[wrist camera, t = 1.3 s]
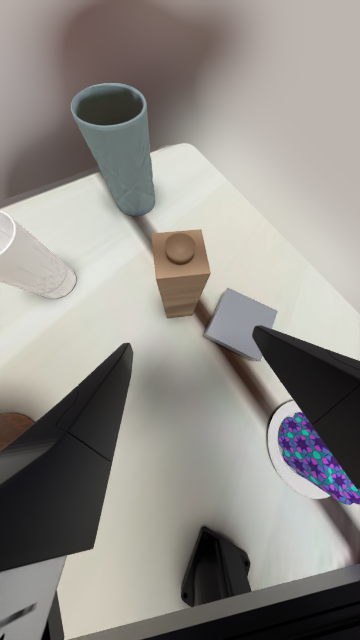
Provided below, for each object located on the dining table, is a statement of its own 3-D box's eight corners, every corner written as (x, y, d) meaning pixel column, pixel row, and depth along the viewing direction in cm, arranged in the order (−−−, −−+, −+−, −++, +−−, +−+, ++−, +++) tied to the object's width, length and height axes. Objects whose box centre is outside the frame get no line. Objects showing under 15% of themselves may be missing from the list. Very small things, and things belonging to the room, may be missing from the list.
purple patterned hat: (330, 397, 21) (380, 413, 16) (353, 491, 18) (422, 547, 13) (259, 398, 21) (286, 414, 15) (271, 494, 18) (309, 551, 13)
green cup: (166, 197, 30) (159, 97, 18) (141, 226, 27) (116, 135, 16) (130, 180, 30) (101, 74, 19) (103, 207, 28) (52, 107, 17)
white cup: (75, 259, 25) (12, 201, 15) (83, 293, 24) (18, 254, 14) (33, 271, 24) (-62, 218, 15) (38, 308, 23) (-65, 276, 13)
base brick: (250, 360, 22) (260, 361, 19) (202, 335, 22) (206, 334, 20) (267, 315, 24) (277, 311, 21) (222, 293, 24) (227, 287, 22)
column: (191, 315, 23) (213, 267, 10) (167, 318, 23) (154, 273, 9) (188, 292, 24) (203, 220, 11) (164, 295, 24) (149, 224, 10)
